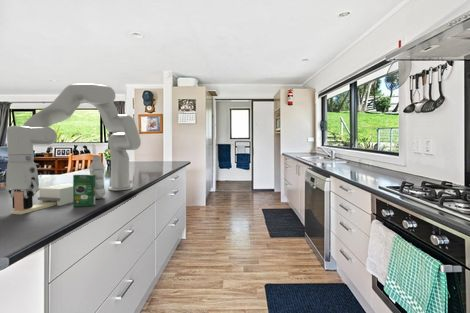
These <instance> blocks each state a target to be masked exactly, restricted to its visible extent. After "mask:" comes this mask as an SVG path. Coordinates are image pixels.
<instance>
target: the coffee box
mask: <svg viewBox="0 0 470 313" xmlns="http://www.w3.org/2000/svg"><path fill="white" fill-rule="evenodd" d="M72 177H73V178H72V179H73V181H72V182H73V183H72V184H73V202H72V204H73V206H72V207H74V208H76V207H78V208H79V207H94V206H96V199H95V175H90V174H73V175H72Z"/></svg>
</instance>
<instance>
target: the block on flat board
mask: <svg viewBox="0 0 470 313" xmlns="http://www.w3.org/2000/svg"><path fill="white" fill-rule="evenodd" d="M28 193H29V191H28ZM23 198H25V197H24V192H23V190H21V191H15V192H14V208H13V209H12V210H11V214H12V215H24V214H28V213H31V212H35V211H40V210H43V209H48V208H51V207H54V206H57V201H48V202H44V203H40V202H39V203H37V204H33V207H32V208H28V209H24V206H23Z"/></svg>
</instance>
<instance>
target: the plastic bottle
mask: <svg viewBox="0 0 470 313" xmlns="http://www.w3.org/2000/svg"><path fill="white" fill-rule="evenodd" d="M91 160H92V161H91V163H90V165H89V168H88V169H89V175H95V200H99V199H104V198H105V195H106V189H105V184H104V183H105V182H104V178H105V176H104V175H105V167H106V166H105V165H104V163H103V162H102V161H101V160H102V156H101V155H92V157H91Z"/></svg>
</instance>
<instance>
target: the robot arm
mask: <svg viewBox="0 0 470 313" xmlns="http://www.w3.org/2000/svg"><path fill="white" fill-rule="evenodd" d="M115 99H116V92H115V90H114V89H113V88H112V87H111V86H109V85H106V84H105V85H104V84H96V83H72V84H69V85H67V86H65V88H64V89H63V90H62V91H61V92H60V93H59V95H58V96H57V97H56V98H54V100H53V101H52V103H50V105H47V106H46V107H44V108H43V109H41V110H39V111H37V112H36V113H35V114H33V115H32V116H30V117H29V118H28V119H27V120H26V121H25V122H24V123H23V124H22V125H11V126H8V127H7V128H6V141H7V142H6V143H7V165H6V170H5V171H6V172H5V182H6V183H5V184H6V185H5V188H4V189H5V190H6V192H8V194H9V195H10V198H12V202H11V203H12V209H14V192H15V191H21V190H23V192H24V197H25V198H23V206H24V209H28V208H32V207H33V205H34V204H33V202H34V201H33V198H34V196H35V194H36V193H37V192H39V188H40V182H39V180H40V179H39V172H38V168H37V167H38V166H37V164H36V162H34V160H35V157H34V146H50V145H53V144H55V142H56V141H57V139H58V134H57V132H56V131H55V129H53V128H52V127H51V126H52V125H55V124H58V123H61V122H63V121H66V120H68V119H70V118H71V116H73V114H74V113H75V112H76V110H77V109H78V108H79V107H80V105H81V104H84V103H85V104H86V103H87V104H89V105H92V106H93V107H95V108H96V109H97V111H98V112H99V115H100V117H101V120H102V123H103V125H104V126H105V127H104V128H105V129H106V131H107V132H109V133H112V134H110V136H109V137H108V141H107V143H108V146H109V151H110V185H111V186H108V188H107V189H108V190H109V191H118V192H119V191H126V190H127V191H128V190H132V189H133V185H131V184H133V182H134V181H133V179H130V156H129V154H128V152H127V151H136V150H138V149H140V147H141V144H142V143H141V137H140V132H139V130H138V128H137V127H138V126H137V124H136V121H135V119H134V118H133V116H131V115H129V114H119V111H118V110H117V107H116V105H115V103H114V101H115ZM28 191H29V193H28Z"/></svg>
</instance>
